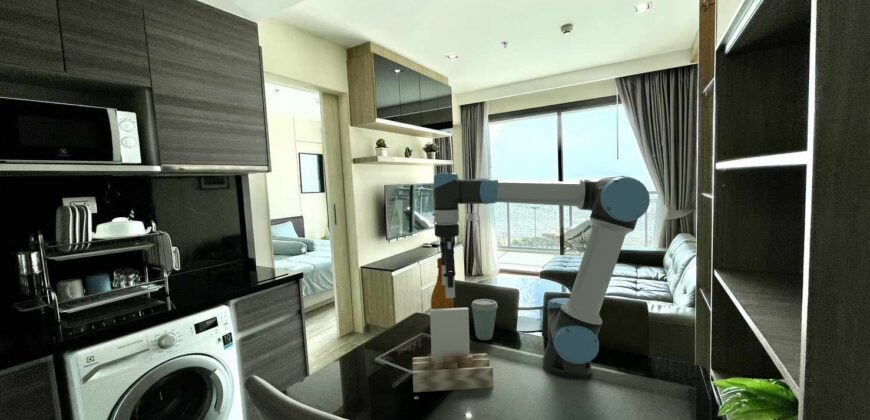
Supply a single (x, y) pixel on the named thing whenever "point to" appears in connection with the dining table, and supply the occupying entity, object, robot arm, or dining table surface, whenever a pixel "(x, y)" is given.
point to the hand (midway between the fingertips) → (448, 290)
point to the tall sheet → (449, 332)
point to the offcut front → (445, 365)
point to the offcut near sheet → (460, 360)
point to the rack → (451, 375)
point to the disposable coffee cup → (484, 317)
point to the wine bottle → (440, 292)
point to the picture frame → (402, 348)
